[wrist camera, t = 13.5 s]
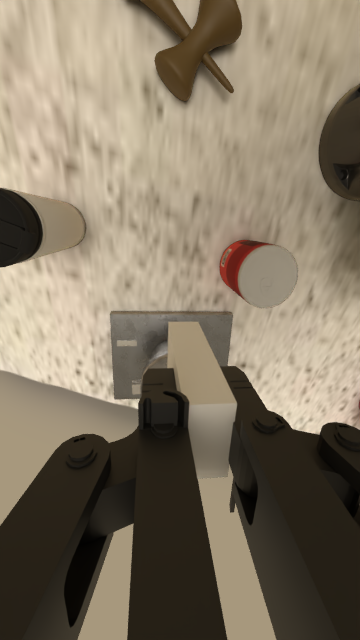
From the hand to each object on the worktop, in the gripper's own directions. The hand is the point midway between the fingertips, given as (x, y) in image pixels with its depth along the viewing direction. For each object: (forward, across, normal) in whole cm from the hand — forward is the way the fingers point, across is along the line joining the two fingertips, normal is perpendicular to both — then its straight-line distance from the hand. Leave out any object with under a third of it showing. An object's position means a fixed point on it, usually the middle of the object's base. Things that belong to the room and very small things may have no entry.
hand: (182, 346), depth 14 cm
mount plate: (+30, +2, -16) cm, 34 cm away
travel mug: (+31, -14, +5) cm, 34 cm away
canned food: (+31, +13, 0) cm, 33 cm away
